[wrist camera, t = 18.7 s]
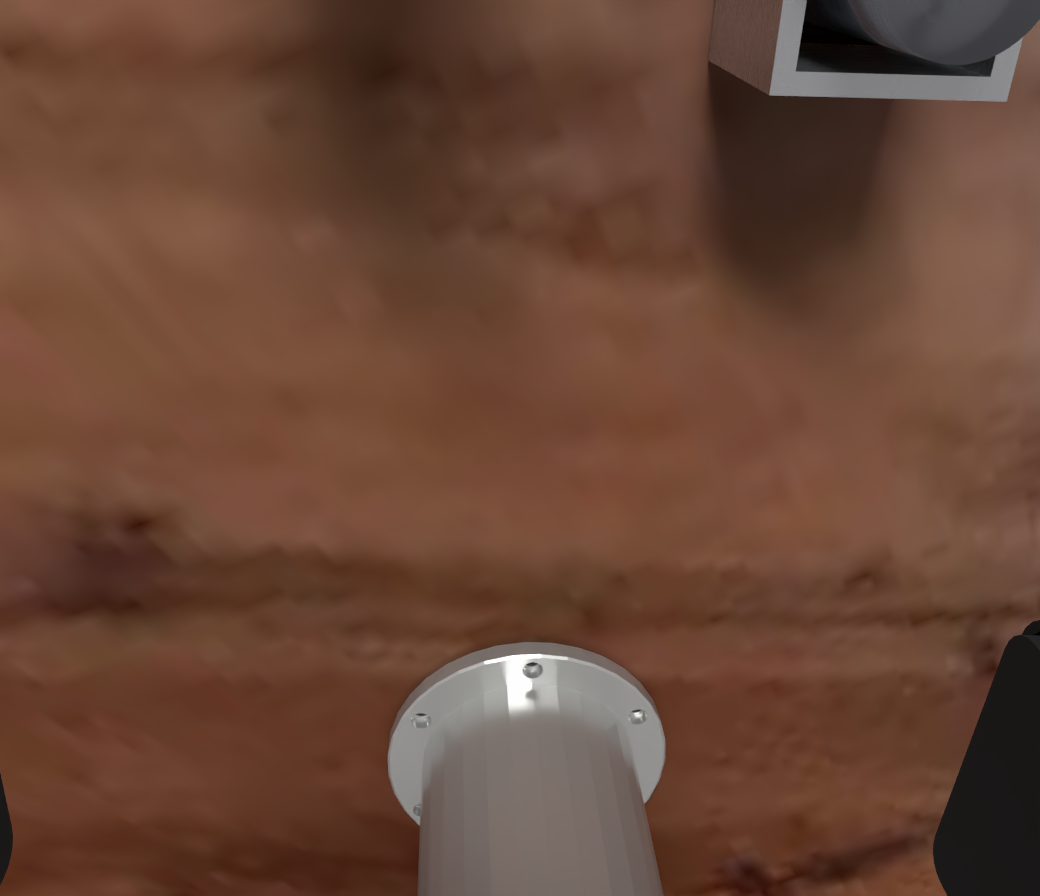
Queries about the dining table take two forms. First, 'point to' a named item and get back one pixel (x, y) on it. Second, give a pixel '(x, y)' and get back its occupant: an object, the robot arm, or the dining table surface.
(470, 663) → the robot arm
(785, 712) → the dining table surface
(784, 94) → the hinge base
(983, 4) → the pin
